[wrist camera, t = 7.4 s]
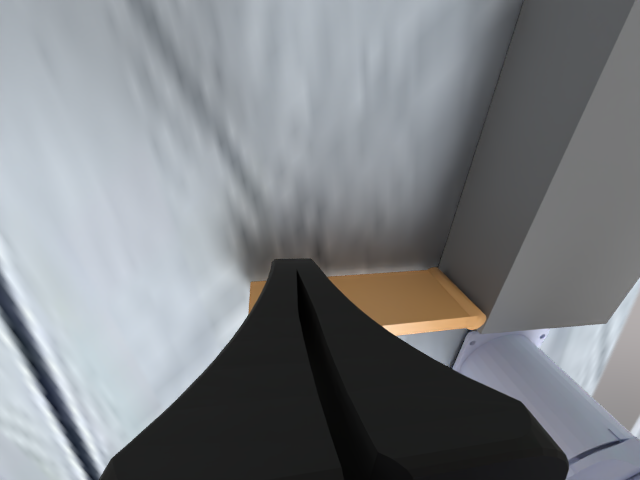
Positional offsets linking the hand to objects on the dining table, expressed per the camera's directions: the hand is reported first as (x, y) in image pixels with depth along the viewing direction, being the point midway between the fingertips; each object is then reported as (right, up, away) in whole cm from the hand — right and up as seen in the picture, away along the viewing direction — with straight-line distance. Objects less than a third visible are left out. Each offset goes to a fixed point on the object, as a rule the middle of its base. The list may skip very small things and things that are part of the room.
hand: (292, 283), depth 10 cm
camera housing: (+14, +6, +8) cm, 17 cm away
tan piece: (+3, -1, +8) cm, 9 cm away
